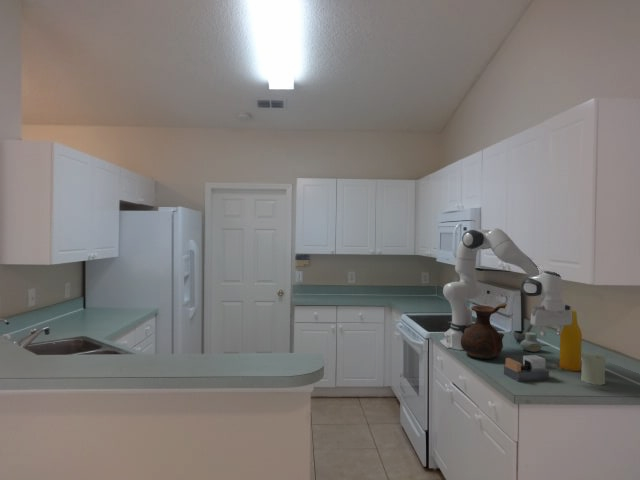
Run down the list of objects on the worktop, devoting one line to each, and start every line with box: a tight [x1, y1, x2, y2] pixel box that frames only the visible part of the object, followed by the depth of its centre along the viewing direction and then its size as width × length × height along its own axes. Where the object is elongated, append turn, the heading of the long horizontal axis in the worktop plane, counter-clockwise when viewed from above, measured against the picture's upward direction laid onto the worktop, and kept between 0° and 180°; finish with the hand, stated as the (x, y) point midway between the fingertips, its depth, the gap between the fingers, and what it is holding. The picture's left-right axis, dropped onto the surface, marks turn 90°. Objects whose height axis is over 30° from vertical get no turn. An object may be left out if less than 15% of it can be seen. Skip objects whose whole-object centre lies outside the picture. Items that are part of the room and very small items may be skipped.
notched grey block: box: [522, 354, 546, 370], centre depth 188 cm, size 7×6×5 cm
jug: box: [461, 303, 507, 360], centre depth 219 cm, size 22×22×30 cm
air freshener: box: [519, 331, 543, 353], centre depth 231 cm, size 11×8×10 cm
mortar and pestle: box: [512, 323, 534, 345], centre depth 246 cm, size 11×9×12 cm
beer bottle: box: [558, 310, 583, 372], centre depth 200 cm, size 9×9×29 cm
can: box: [580, 352, 607, 386], centre depth 183 cm, size 9×9×12 cm
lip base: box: [503, 357, 550, 383], centre depth 187 cm, size 16×10×8 cm, turn 102°
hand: (550, 335), depth 190 cm, fingers open, 7 cm apart
